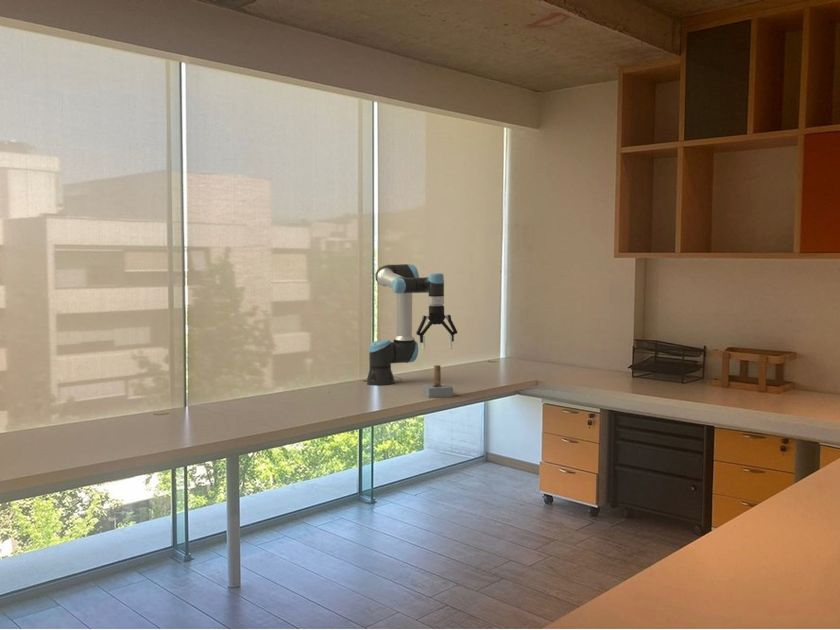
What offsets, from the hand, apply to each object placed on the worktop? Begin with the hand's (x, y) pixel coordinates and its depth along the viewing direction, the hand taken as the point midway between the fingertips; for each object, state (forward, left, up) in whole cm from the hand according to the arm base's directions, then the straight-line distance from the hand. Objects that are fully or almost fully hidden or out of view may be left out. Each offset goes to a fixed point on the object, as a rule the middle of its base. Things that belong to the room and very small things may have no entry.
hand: (437, 349), depth 368 cm
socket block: (0, 0, -23) cm, 23 cm away
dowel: (0, 0, -22) cm, 22 cm away
